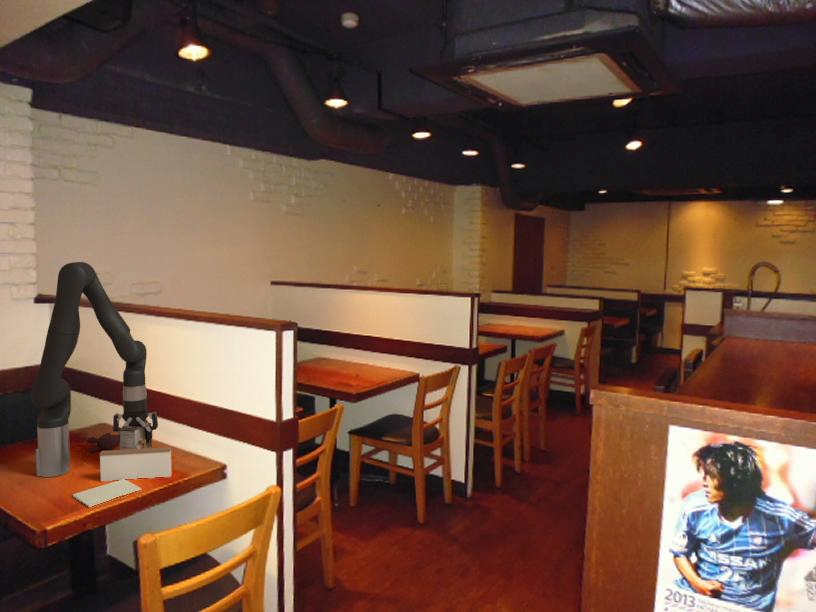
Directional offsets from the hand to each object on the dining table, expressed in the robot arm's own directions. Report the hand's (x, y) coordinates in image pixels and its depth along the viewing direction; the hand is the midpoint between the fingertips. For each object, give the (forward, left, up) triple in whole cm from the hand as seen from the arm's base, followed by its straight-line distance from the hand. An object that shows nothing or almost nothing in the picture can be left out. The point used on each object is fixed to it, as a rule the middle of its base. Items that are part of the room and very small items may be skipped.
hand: (136, 441), depth 197 cm
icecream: (-16, +23, -10) cm, 30 cm away
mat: (-4, -20, -10) cm, 23 cm away
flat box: (+2, -9, -10) cm, 13 cm away
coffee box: (0, 0, -10) cm, 10 cm away
